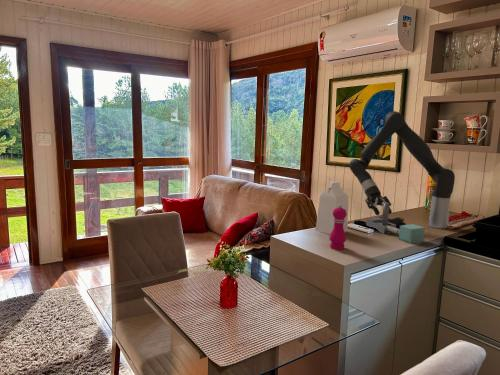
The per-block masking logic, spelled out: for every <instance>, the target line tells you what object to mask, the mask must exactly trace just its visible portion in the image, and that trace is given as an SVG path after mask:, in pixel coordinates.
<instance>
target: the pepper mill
mask: <svg viewBox="0 0 500 375" xmlns="http://www.w3.org/2000/svg"><path fill="white" fill-rule="evenodd" d="M333 216H334V218H333V219H334V220H333V221H334V228H333V230H332V232H331V234H329V241H330V243H329V244H330V245H329V248H330V249H333V250H335V249H336V250H335V251H342V250H344V249H345V242H346V241H347V236H346V232H344V229H343V224H344V222H345V219H344V218H345V217H346V210H345V209H343V208H342V205H341V204H339V205H338V208H335V209H334V210H333Z"/></svg>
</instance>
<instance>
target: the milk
mask: <svg viewBox="0 0 500 375" xmlns="http://www.w3.org/2000/svg"><path fill="white" fill-rule="evenodd" d="M318 200H319V201H318V207H317V215H316V223H315V231H316V232H320V233H324V234H326V235H330V234H331V232H332V230H333V228H334V221H333V220H334V219H333V218H334V216H333V210H334V209H335V208H338V205H339V204H341V205H342V208H343V209H345V210H346V217H345V218H344V219H345V222H344V224H343V229H344V233H347V232H348V225H349V224H348V220H349V219H348V218H349V197H348V195H347V193H346V192H345V191H344V189H343V188H342V187H341V183H340V182H339V181H331V182H330V183H329V186H328V188H327V189H326V190H325V191H324V192H322V193H321V194H320V196H319V199H318Z"/></svg>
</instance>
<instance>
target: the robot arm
mask: <svg viewBox="0 0 500 375" xmlns="http://www.w3.org/2000/svg"><path fill="white" fill-rule="evenodd" d="M384 122H385V123H384V124H383V126H382V127H381V129H380V131H379V132H378V133H377V134H376V135H375V136H374V137H373V138H372V139H371V140H369V142H367V144H366V145H365V147H364V148H363V149H362V150H361V151H360V155H361V158H360V159H358V158H354V159H351V160H350V161H349V169H350V171H351V173H352V174H353V175H354V176H355V178H357V180H358V182H359V184H360V186H361V188H362V191H363V192H364V195H365V196H366V198H365V199H364V202H365V203H366V205H367V208H368V209H369V210H372V211H373V212H374V214H375V216H379V215H380V214H381V212H380V211H379V209H378V207H377V206H381V207H383V203H389V215H390V214H392V213H393V211H392V209H391V207H390V206H392V203H391V201H390V200H389V198H388V196H386V195H385V196H382V195H381V194H382V193H381V190H380V189H379V186H378V185H377V184H376V181H374V179H373V177H372V176H371V173H369V172H368V171H367V169H368V167H369V165H370V163H371V162H372V160H373V158H374V157H375V156H376V154H378V152H379V151H380V149H381V148H382V147H383V145H384V144H385V143H387V141H388V140H389V139H390V138H391V137H392V136H393V135H394V134H396V135H397V136H398V137H399V139H400V140H401V142H402V144H403V145H404V146H405V148H406V149H407V151H408V152H409V153H410V154H411V155H412V157H413V158H414V159H415V160H416V161H417V162H418V163H419V164H420V165H421V166H422V167H423V168H424V169H425V170H426V172H427V173H428V175H429V177H430V178H431V180H433V182H434V183H435V184H436V186H435V189H434V190H433V191H432V194H431V202H430V210H429V211H430V212H429V219H428V226H429V227H431V228H434V229H447V228H448V227H447V226H449V219H450V204H451V197H452V195H453V194H452V193H453V191H454V187H455V186H454V185H455V180H456V176H455V173H454V171H453V170H452V169H450V168H445V167H443V166H442V165H441V164H440V163H439V162H438V161H437V160H436V158H435V156H434V154H433V152H432V149H431V148H430V147H429V145H428V144H427V143H426V141H425V140H424V138H422V137H421V136H420V135H419V134H418V133H417V132H415V130H413V129H412V128H411V127H410V126H409V125H408V123H407V122H406V121H405V117H404V116H403V114H402V113H400V112H399V111H396V110H392V111H389V112H388V113H386V115H385V118H384Z"/></svg>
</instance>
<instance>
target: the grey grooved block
mask: <svg viewBox="0 0 500 375" xmlns="http://www.w3.org/2000/svg"><path fill="white" fill-rule="evenodd" d="M379 217H380V216H375V217H367V218H366V223H365V224H366V225H367V226H369V227H373V228H376V229H377V230H378V231H379V233H380V234H383V235H386V234H391V233H393V234H395V233H394V232H391V231H388V230H387V227H388V226H392V227H395V228H396V224H392V223H389V222H388V226H387V225H384V224H381V223H382V218H379ZM378 222H379V223H378ZM366 225H365V226H366ZM378 231H377V232H378Z"/></svg>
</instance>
